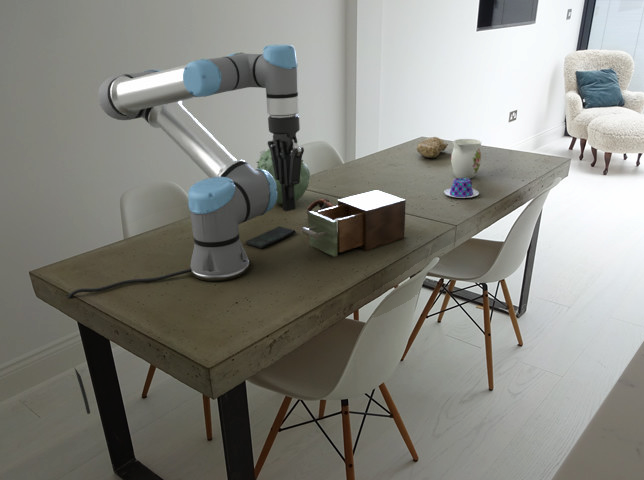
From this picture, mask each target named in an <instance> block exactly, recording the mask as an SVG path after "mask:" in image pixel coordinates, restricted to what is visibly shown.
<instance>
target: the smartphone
mask: <svg viewBox="0 0 644 480" xmlns="http://www.w3.org/2000/svg"><path fill="white" fill-rule="evenodd" d="M295 233H296V230H295V229H292V228H287V227H283V226H279V225H278V226H276V227H274V228H272V229H270V230H268V231H266V232H263V233H261V234H259V235H257V236H255V237H253V238H250V239H248V240H246V241H245V245H248V246H252V247H255V248H258V249H265V248H266V247H268V246H270V245H273V244H274V243H277V242H279V241H281V240H283V239H285V238H287V237H290V236H292V235H293V234H295Z"/></svg>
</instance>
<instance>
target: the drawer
mask: <svg viewBox="0 0 644 480" xmlns="http://www.w3.org/2000/svg"><path fill="white" fill-rule="evenodd" d="M316 211H317V213H316ZM316 211H313V210H311V211H310V212H308V213H309V221H308V228H307V227H306V226H303V227H302V228H301V233H302V234H304V235H306V236H309V246H312V247H313V248H315V249H317V250H319V251H321V252H324V253H326V254H328V255H330V256H332V257H337V256H338V253H343V252H346V251H350V250H352V249H355V248H359V246H362V245H364V213H363V212H361V211H358V210H355V209H353V208H350V207H348V206H345V205H339V206H338V205H336V206H335V205H334V207H331V208H327V209H323V210H320V211H318V210H316ZM337 218H341V219H338V220H337V221H335V219H337ZM337 222H338V243H337Z"/></svg>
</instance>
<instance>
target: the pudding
mask: <svg viewBox="0 0 644 480" xmlns="http://www.w3.org/2000/svg"><path fill="white" fill-rule="evenodd" d="M443 194H444V195H446V196H448V197H452V198H457V199H458V198H459V199H465V198H467V199H468V198H469V199H470V198H473V197H476V196H479V194H480V192H479V191H478V190H476V189H475V188H473V183H472V181H471V179H467V178H457V177H456V178H454V179H453V181H452V184H451V187H450V188H447V189H444V191H443Z"/></svg>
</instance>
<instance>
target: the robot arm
mask: <svg viewBox="0 0 644 480" xmlns="http://www.w3.org/2000/svg"><path fill="white" fill-rule="evenodd" d="M262 52H263V53H245V52H236V53H229V54H228V55H226V56H221V57H214V58H206V59H205V58H200V59H196V60H193V61H190V62H188V63H185V64H182V65H178V66H175V67H171V68H168V69H163V70H161V69H147V70H144V71H139V72H138V71H137V72H132V73H131V72H130V73H123V74H117V75H113V76H110V77H108V78H107V79H105V80H104V81H103V82H102V83H101V85H100V86H99V88H98V92H97V98H98V102H99V106H100V108H101V109H102V111H103V113H105V114H106V115H107V116H109V117H110V118H112V119H115V120H118V121H131V120H135V119H141V118H142V119H144V120H145V121H146V122H147V123H148V124H149V126H150V127H152V128H154V129H161V130H162V131H163V132H164V133H165V134H166V135H167V136H168V137H169V139H171V140H172V141H173V142H174V143H175V144H176V145H177V147H179V148H180V149H181V150H182V151H183V152H184V153H185V155H187V157H188V158H190V159H191V161H192V162H193V163H195V165H196V166H197V167H198V168H199V169H200V170H201V171H202V172H203V173H204V174H205V175H206V176H207V177H208V178H204V179H201V180H199V181H197V182H195V183H193V185H191V187H190V188H189V189H188V192H187V193H188V194H187V198H188V203H187V205H188V210H189V216H190V223H191V229H192V236H193V244H194V245H193V251H192V255H191V260H190V268H186V269H183V270H179V271H174V272H172V273H167V274H165V275H160V276H156V277H147V278H133V279H132V278H131V279H126V280H122V281H117V282H115V283H112V284H108V285H104V286H101V287H94V288H91V287H89V288H78V289H74V290H73V291H71V292H70V293H69V294H68V296H67V297H66V299H72V298H73V297H74V295H76V294H80V293H97V292H103V291H106V290H109V289H113V288H116V287H119V286H123V285H128V284H134V283H150V282H157V281H163V280H166V279H170V278H173V277H176V276H180V275H183V274H188V273H190V274H191V275H192V276H193V278H196V279H197V280H200V281H206V282H223V281H229V280H234V279H236V278H239V277H241V276H243V275H245V274H246V273H247V272H248V271H249V269H250V261H249V258H248V255H247V253H246V250H245V249H244V246H243V244H242V242H241V239H240V230H239V229H240V228H239V225H241V224H244V223H245V222H248V221H250V220H253V219H255V218H258V217H262V216H263V215H265V214H266V213H267V212H270V211H271V210H272V209H273V208H274V207H275V205H276V204H277V203H276V201H277V190H276V189H277V186H276V183H275V180H274V178H273V177H272V175H271V174H270V173H269V172H267V171H266V170H263V169H258V168H255V169H254V168H253V167H252V166H251V165H250V164H249V163H248V162H247V161H246V160H244V159H238V160H237V159H236V158H235V157H234V156H233V155H232V153H230V152H229V151H228V150H227V149H226V148H225V147H224V146H223V145H222V144H221V143H220V142H219V141H218V140H217V139H216V138H215V137H214V136H213V135H212V134H211V133H210V132H209V131H208V130H207V129H206V127H204V126H203V125H202V124H201V123H200V122H199V121H198V120H197V119H196V118H195V117H194V116H193V115H192V114H191V113H190V112H189V111H188V110H187V109H186V108H185V107H184V106H183V101H188V100H192V99H197V98H205V97H209V96H213V95H217V94H222V93H226V92H233V91H236V90H237V91H238V90H243V89H247V88H261V89H265V95H266V96H265V97H266V112H267V115H268V118H267V124H268V126H267V127H268V132H269V133H271V134H272V140H268V141H267V146H268V149H270V152H271V157H272V163H273V168H274V173H275V178H276V180H279V182H280V184H281V190H282V201H283V204H282V210H283V211H284V212H289V211H292V210H296V201H295V200H294V197H295V193H294V185H295V184H299V182H300V172H301V161H302V160H303V154H304V152H305V148H304V147H303V146H299V144H298V138H297V133H298V132H299V131H300V129H301V125H300V116H299V114H298V113H299V112H300V111H299V109H300V108H299V92H298V91H299V90H298V61H297V53H296V48H295V46H294V45H292V44H269V45H265V46H264V47H263V49H262ZM73 368H74V371H75V375H76V378H77V382H78V384H79V389H80V391H81V395H82V399H83V402H84V406H85V407H84V408H85V410H86V414H87V415H90V414H91V409H90V404H89V400H88V397H87V394H86V390H85V386H84V383H83V379H82V375H80V373H79V371H78V370H77V369H76V367H75V366H73Z"/></svg>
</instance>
